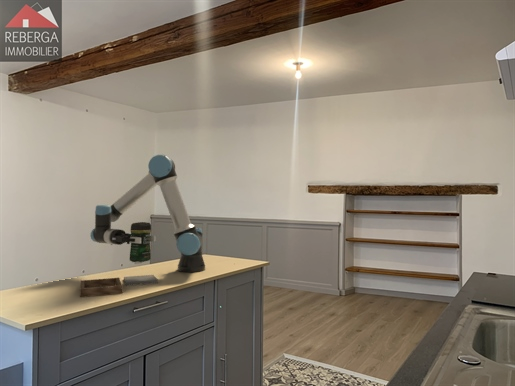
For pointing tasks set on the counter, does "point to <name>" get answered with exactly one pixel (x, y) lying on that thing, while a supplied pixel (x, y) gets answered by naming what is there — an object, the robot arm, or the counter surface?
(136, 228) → the coffee jar
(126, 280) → the grey board
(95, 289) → the walnut frame
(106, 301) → the counter surface
